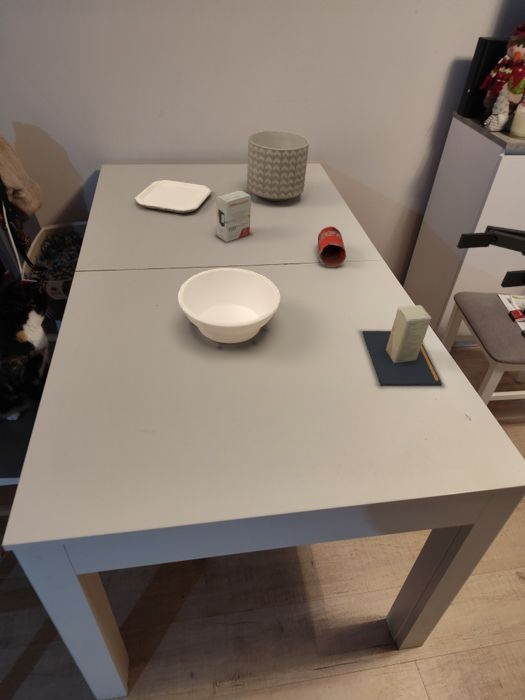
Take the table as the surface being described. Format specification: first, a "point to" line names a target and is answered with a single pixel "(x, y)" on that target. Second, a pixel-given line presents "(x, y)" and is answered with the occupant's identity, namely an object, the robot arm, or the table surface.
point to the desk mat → (402, 372)
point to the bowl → (229, 303)
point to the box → (408, 333)
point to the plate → (173, 196)
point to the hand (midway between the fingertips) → (481, 259)
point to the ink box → (233, 215)
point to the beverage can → (331, 247)
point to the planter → (277, 164)
